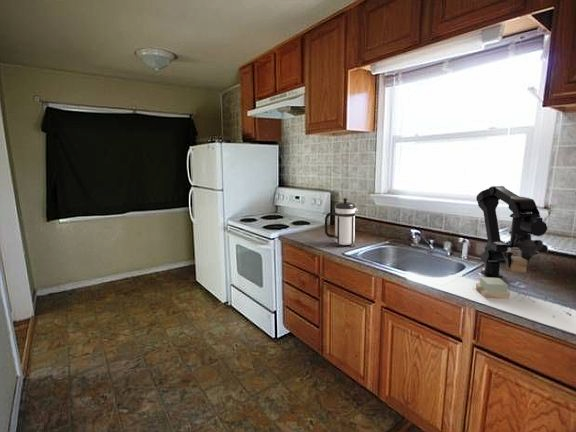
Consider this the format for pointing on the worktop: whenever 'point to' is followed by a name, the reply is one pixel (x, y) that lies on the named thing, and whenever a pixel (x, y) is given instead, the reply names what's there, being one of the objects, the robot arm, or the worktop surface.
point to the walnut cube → (517, 264)
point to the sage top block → (493, 284)
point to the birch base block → (492, 293)
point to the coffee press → (343, 223)
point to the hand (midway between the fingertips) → (515, 267)
